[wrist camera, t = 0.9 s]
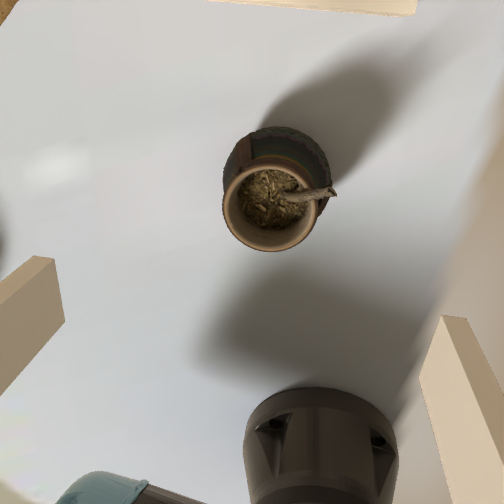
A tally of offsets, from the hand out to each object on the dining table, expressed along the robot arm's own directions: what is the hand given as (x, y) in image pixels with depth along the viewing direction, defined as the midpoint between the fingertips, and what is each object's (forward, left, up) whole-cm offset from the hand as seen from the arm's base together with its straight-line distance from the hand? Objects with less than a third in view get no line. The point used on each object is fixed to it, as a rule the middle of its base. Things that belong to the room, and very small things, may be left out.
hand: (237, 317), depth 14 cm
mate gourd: (0, 0, -19) cm, 19 cm away
